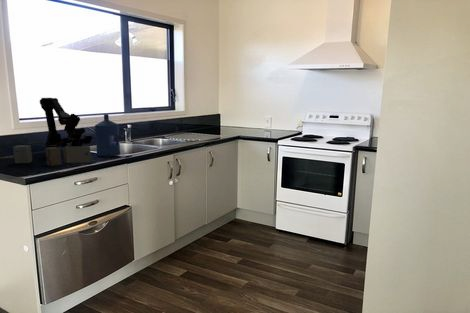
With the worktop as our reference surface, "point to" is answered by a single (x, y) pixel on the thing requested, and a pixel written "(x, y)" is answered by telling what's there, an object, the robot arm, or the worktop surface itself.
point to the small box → (22, 154)
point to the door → (76, 154)
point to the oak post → (53, 156)
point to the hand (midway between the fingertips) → (81, 151)
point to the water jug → (107, 137)
